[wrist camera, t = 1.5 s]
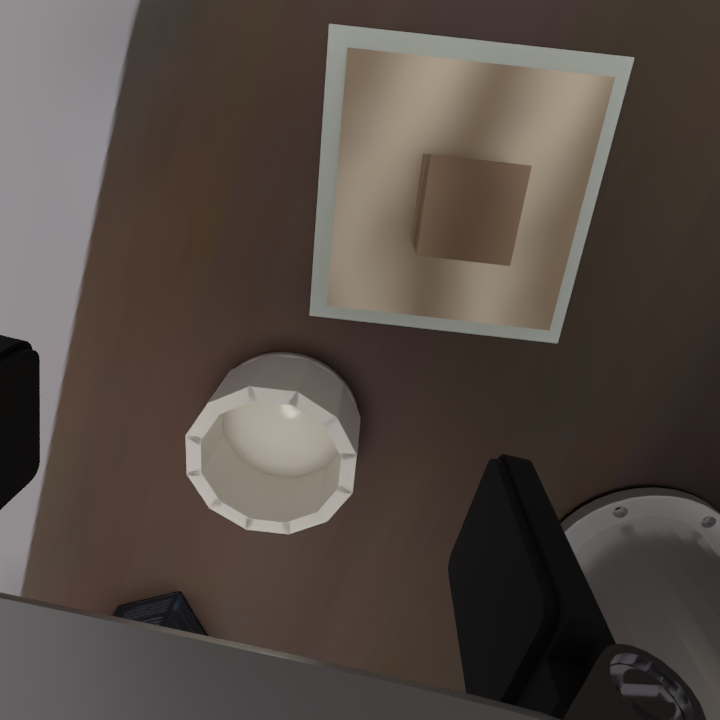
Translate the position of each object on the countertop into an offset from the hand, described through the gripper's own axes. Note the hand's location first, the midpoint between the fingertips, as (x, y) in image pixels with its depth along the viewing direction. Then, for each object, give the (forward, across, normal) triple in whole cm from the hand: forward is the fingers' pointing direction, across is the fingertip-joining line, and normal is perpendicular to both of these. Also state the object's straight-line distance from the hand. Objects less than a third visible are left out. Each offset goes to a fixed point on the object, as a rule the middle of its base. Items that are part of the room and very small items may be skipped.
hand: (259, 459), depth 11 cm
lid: (+18, -5, -5) cm, 20 cm away
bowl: (+19, +1, +10) cm, 21 cm away
